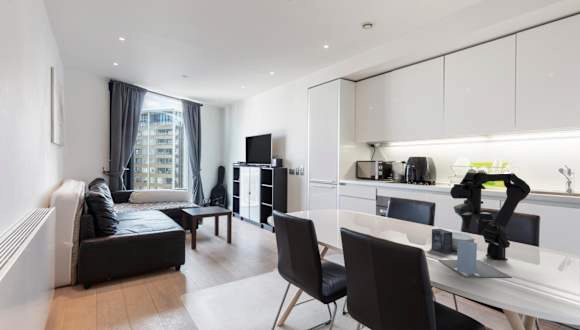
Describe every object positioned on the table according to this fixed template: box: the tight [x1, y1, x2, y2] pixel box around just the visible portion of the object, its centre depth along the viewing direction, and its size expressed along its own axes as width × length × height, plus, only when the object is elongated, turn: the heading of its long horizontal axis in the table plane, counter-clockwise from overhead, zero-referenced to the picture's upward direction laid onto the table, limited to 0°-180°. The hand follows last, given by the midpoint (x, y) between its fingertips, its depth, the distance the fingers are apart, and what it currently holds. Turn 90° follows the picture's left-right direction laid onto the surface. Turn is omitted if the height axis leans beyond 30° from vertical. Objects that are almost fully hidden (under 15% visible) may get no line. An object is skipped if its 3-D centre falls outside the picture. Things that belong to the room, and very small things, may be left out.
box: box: [431, 228, 453, 255], centre depth 146 cm, size 8×6×11 cm
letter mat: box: [438, 259, 512, 279], centre depth 122 cm, size 19×19×1 cm
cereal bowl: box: [451, 231, 475, 251], centre depth 151 cm, size 17×17×7 cm
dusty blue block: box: [456, 240, 478, 275], centre depth 117 cm, size 5×5×12 cm
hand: (473, 231), depth 134 cm, fingers open, 9 cm apart
